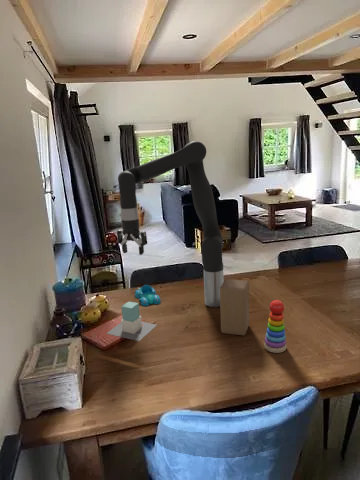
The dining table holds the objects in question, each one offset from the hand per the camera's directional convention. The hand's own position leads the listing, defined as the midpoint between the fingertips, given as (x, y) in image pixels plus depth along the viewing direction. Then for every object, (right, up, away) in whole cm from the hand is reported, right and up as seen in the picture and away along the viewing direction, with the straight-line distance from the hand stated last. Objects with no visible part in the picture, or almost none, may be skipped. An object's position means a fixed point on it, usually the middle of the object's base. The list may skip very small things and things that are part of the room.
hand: (133, 253), depth 163 cm
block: (+43, -31, -14) cm, 55 cm away
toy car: (+5, -24, +21) cm, 32 cm away
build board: (+1, -32, -11) cm, 34 cm away
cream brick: (+1, -31, -11) cm, 33 cm away
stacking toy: (+56, -34, -29) cm, 71 cm away
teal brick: (+1, -26, -12) cm, 29 cm away
